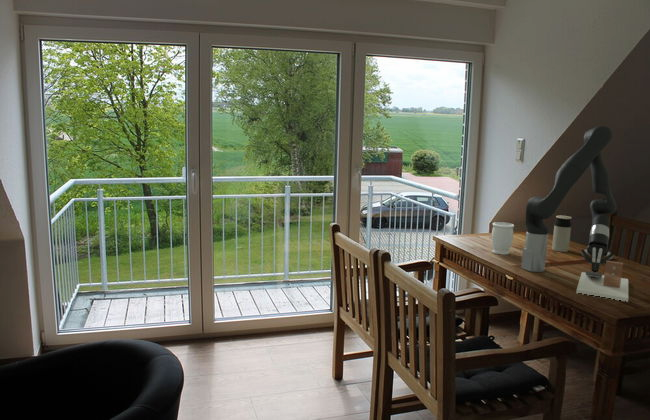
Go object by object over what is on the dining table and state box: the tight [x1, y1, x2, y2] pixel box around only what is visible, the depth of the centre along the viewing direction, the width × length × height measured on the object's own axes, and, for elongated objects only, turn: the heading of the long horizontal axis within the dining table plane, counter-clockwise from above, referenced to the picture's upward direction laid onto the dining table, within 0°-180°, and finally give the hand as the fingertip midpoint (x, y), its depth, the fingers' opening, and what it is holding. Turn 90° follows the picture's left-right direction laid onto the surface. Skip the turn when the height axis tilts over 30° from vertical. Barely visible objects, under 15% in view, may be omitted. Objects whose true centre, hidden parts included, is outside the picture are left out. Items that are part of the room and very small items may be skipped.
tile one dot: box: [585, 270, 603, 277], centre depth 228 cm, size 2×6×10 cm
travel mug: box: [551, 215, 572, 253], centre depth 282 cm, size 8×8×18 cm
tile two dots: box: [603, 260, 624, 288], centre depth 218 cm, size 2×6×10 cm, turn 61°
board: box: [575, 271, 629, 303], centre depth 222 cm, size 29×18×2 cm, turn 151°
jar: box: [491, 221, 515, 256], centre depth 273 cm, size 11×10×15 cm
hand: (594, 271), depth 227 cm, fingers closed
